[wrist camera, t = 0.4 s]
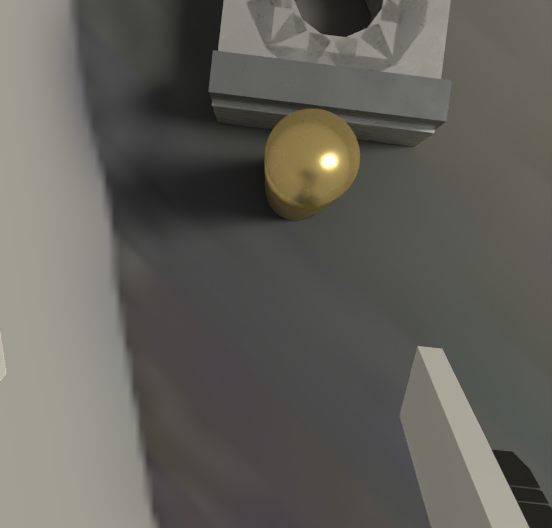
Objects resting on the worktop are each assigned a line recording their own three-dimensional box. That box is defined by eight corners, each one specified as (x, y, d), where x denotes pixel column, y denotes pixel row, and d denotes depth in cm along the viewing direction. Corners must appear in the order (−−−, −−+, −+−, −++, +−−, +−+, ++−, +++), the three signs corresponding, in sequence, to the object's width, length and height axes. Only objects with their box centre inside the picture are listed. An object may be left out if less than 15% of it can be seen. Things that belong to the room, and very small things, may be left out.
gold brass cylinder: (323, 224, 34) (354, 209, 22) (261, 216, 34) (259, 198, 22) (330, 162, 34) (365, 114, 22) (268, 154, 34) (270, 102, 22)
